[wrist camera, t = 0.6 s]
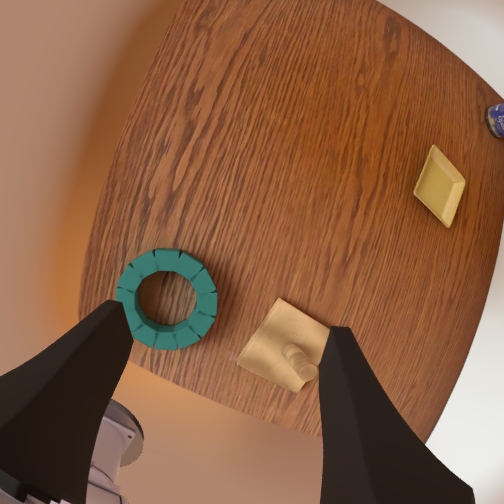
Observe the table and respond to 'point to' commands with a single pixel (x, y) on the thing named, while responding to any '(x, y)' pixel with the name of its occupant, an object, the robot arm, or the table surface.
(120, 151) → the table surface
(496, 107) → the pill bottle
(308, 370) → the holder
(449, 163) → the saucer
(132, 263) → the ring
